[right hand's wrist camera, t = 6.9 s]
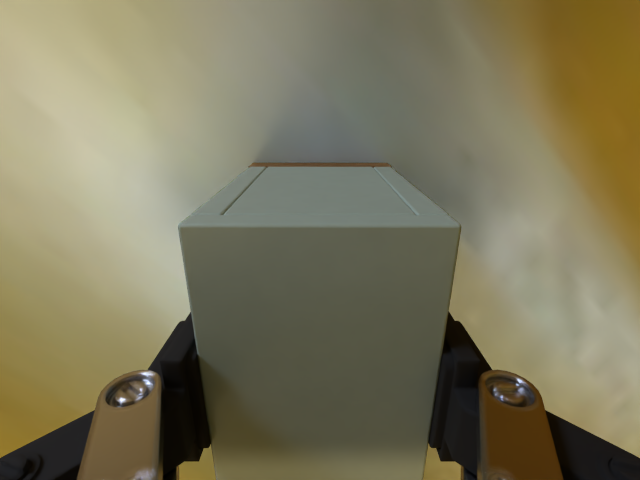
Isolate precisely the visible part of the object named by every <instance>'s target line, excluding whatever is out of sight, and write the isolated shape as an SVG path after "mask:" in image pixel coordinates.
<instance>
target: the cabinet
mask: <svg viewBox="0 0 640 480" xmlns="http://www.w3.org/2000/svg"><path fill="white" fill-rule="evenodd" d="M178 229H179V236H180V243H181V249H182V256H183V262H184V269H185V276H186V282H187V289H188V295H189V302H190V309H191V315H192V322H193V328H194V335H195V342H196V348H197V355H198V361H199V368H200V375H201V381H202V388H203V394H204V401H205V408H206V414H207V421H208V427H209V434H210V440H211V447H212V454H213V460H214V467H215V473H216V480H423V475H424V468H425V462H426V455H427V449H428V442H429V436H430V429H431V423H432V416H433V409H434V403H435V396H436V390H437V383H438V377H439V370H440V364H441V357H442V350H443V344H444V337H445V331H446V324H447V318H448V311H449V305H450V298H451V291H452V285H453V278H454V272H455V265H456V259H457V252H458V246H459V239H460V232H461V225H460V224H459V223H458V222H457V221H456V220H454V219H453V218H452V217H451V216H449V214H448V213H447V212H445V211H444V210H443V209H442V208H440V207H439V206H438V205H437V204H435V203H434V202H433V201H432V200H431V199H429V198H428V197H427V196H426V195H424V194H423V193H422V192H421V191H419V190H418V189H417V188H416V187H415V186H413V185H412V184H411V183H410V182H408V181H407V180H406V179H405V178H403V177H402V176H401V175H400V174H399V173H397V172H396V171H395V170H394V169H392V167H391V166H390V165H389V164H388V163H252V164H251V165H250V166H249V168H248V169H247V170H245V171H244V172H243V173H242V174H240V175H239V176H238V177H237V178H236V179H234V180H233V181H232V182H231V183H229V184H228V185H227V186H226V187H224V188H223V189H222V190H221V191H219V192H218V193H217V194H216V195H214V196H213V197H212V198H211V199H209V200H208V201H207V202H206V203H204V204H203V205H202V206H201V207H200V208H198V209H197V210H196V211H195V212H193V213H192V214H191V215H190V216H188V217H187V218H186V219H185V220H183V221H182V222H181V223H180V224H179V226H178Z"/></svg>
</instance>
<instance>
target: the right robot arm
mask: <svg viewBox="0 0 640 480" xmlns="http://www.w3.org/2000/svg"><path fill="white" fill-rule="evenodd" d="M210 444H211V440H210V434H209V427H208V421H207V414H206V408H205V401H204V394H203V388H202V381H201V375H200V368H199V361H198V355H197V348H196V342H195V335H194V328H193V322H192V315H191V312H190V314H189V315H188V317H187V319H186V320H185V321H181V322H179V324H178V325H177V326H176V328H175V329H174V331H173V332H172V334H171V335H170V337H169V338H168V340H167V341H166V343H165V344H164V346H163V347H162V349H161V350H160V352H159V353H158V355H157V356H156V358H155V359H154V361H153V363H152V364H151V366H150V367H149V369H148V370H137V371H132V372H129V373H126V374H123V375H121V376H119V377H117V378H115V379H114V380H113V381H111V382H110V383H109V384H107V385H106V386H105V388H104V389H103V390H102V391H101V393H100V395H99V397H98V400H97V404H96V408H95V410H94V411H92V412H90V413H88V414H86V415H84V416H82V417H80V418H78V419H76V420H74V421H72V422H70V423H68V424H66V425H64V426H62V427H60V428H58V429H56V430H54V431H53V432H51V433H49V434H47V435H45V436H43V437H41V438H39V439H37V440H35V441H33V442H31V443H29V444H27V445H25V446H23V447H21V448H19V449H17V450H15V451H13V452H11V453H9V454H7V455H5V456H3V457H2V458H0V480H179V466H178V465H180V464H181V463H183V462H184V461H199V460H200V457H201V454H202V451H203V448H209V446H210ZM429 445H430V447H431V448H436V449H437V452H438V455H439V458H440V460H441V461H456V462H457V463H459V464H460V465H461V480H640V458H638V457H636V456H635V455H633V454H631V453H629V452H627V451H625V450H623V449H621V448H619V447H617V446H615V445H613V444H611V443H609V442H607V441H605V440H603V439H601V438H599V437H597V436H595V435H593V434H591V433H589V432H587V431H585V430H583V429H581V428H579V427H577V426H575V425H573V424H571V423H569V422H568V421H566V420H564V419H562V418H560V417H558V416H556V415H554V414H552V413H550V412H548V411H546V410H545V408H544V404H543V400H542V397H541V395H540V393H539V391H538V390H537V389H536V388H535V386H534V385H533V384H531V383H530V382H529V381H527V380H526V379H525V378H523V377H521V376H519V375H517V374H514V373H511V372H508V371H503V370H492V369H491V367H490V366H489V364H488V363H487V361H486V360H485V358H484V357H483V355H482V354H481V352H480V351H479V349H478V348H477V346H476V345H475V343H474V342H473V340H472V339H471V337H470V336H469V334H468V333H467V331H466V330H465V328H464V327H463V325H462V324H461V323H460V322H459V321H454V319H453V317H452V316H451V314H450V313H449V311H448V318H447V324H446V331H445V337H444V344H443V350H442V357H441V364H440V370H439V377H438V383H437V390H436V396H435V403H434V409H433V416H432V423H431V429H430V436H429Z"/></svg>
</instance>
